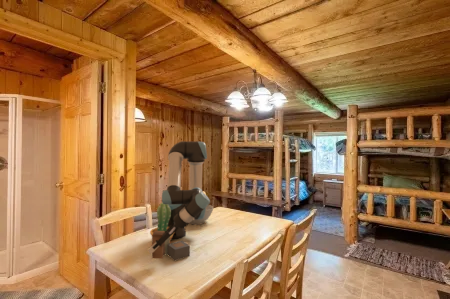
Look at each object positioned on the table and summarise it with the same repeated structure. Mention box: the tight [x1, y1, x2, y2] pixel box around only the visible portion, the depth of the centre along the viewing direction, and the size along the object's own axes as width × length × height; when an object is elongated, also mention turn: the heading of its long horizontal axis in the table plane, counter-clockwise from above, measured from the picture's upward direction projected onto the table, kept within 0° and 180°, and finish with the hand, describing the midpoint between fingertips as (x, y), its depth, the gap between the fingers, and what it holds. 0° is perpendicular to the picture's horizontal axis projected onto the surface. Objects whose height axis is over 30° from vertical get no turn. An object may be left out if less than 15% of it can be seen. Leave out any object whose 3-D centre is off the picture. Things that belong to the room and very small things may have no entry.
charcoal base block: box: [166, 240, 191, 261], centre depth 130 cm, size 9×9×6 cm
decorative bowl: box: [189, 204, 214, 226], centre depth 190 cm, size 27×27×12 cm
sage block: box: [165, 237, 171, 255], centre depth 133 cm, size 5×5×10 cm
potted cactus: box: [149, 202, 175, 241], centre depth 146 cm, size 15×15×25 cm
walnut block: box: [151, 231, 166, 260], centre depth 118 cm, size 5×5×12 cm
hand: (151, 249), depth 118 cm, fingers closed on walnut block, 5 cm apart
